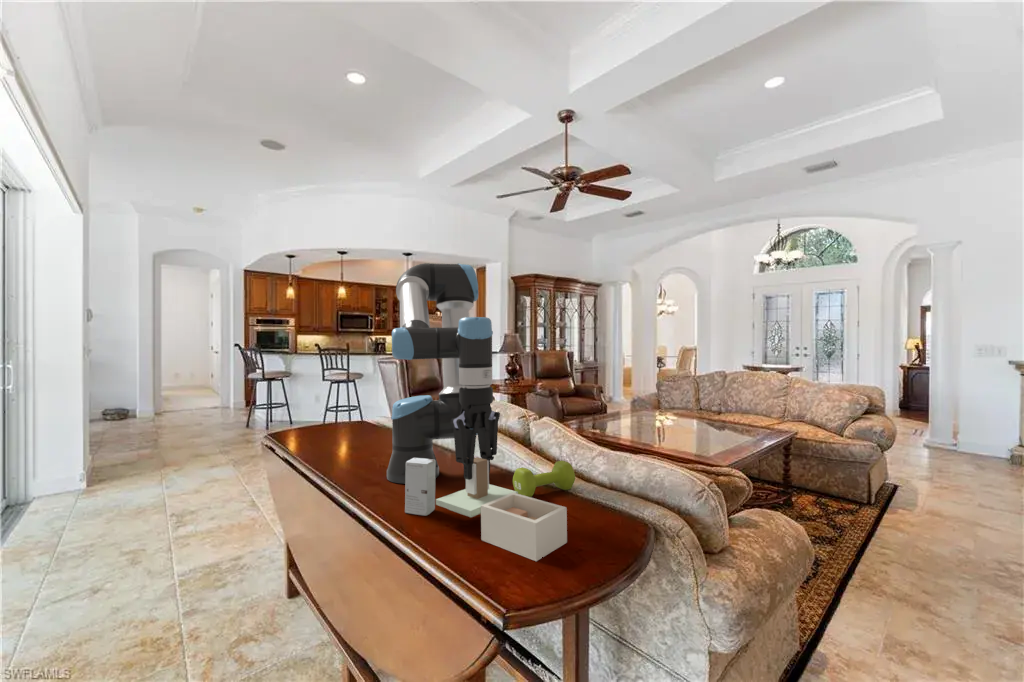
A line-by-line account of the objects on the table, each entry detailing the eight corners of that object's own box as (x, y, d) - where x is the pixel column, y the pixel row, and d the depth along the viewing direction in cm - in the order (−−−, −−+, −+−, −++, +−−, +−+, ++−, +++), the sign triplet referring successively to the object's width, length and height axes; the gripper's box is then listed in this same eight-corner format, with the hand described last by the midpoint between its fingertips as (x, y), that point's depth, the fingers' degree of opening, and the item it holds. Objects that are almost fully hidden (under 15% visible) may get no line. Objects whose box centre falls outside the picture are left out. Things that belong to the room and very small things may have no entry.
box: (481, 540, 94) (480, 505, 94) (513, 524, 101) (513, 492, 101) (536, 561, 85) (535, 523, 85) (567, 542, 92) (566, 507, 92)
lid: (470, 522, 95) (470, 471, 95) (435, 510, 102) (435, 462, 102) (518, 502, 106) (517, 456, 106) (483, 492, 114) (483, 449, 113)
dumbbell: (561, 483, 130) (560, 457, 130) (578, 491, 123) (578, 464, 123) (509, 493, 122) (509, 466, 122) (525, 503, 115) (525, 474, 115)
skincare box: (404, 513, 109) (403, 461, 108) (413, 506, 113) (413, 457, 113) (427, 516, 107) (427, 463, 107) (436, 509, 111) (436, 458, 111)
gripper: (460, 390, 95) (462, 504, 96) (512, 384, 108) (513, 484, 108) (436, 388, 100) (438, 496, 101) (489, 382, 113) (490, 478, 113)
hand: (477, 490), depth 104 cm, fingers closed on lid, 3 cm apart
